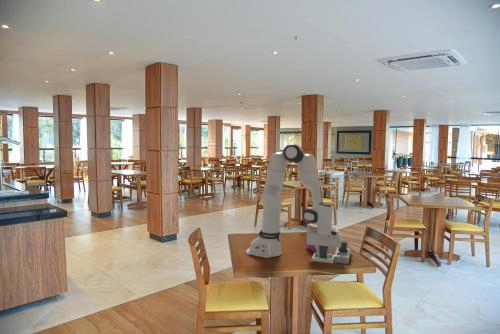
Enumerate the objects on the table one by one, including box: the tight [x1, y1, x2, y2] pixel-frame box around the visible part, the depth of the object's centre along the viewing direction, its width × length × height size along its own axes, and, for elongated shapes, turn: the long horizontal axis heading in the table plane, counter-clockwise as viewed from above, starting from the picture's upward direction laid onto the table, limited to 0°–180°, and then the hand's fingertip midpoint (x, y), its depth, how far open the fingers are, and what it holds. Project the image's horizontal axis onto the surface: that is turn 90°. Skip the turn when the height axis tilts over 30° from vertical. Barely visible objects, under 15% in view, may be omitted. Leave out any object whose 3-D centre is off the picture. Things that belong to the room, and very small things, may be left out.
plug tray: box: [311, 252, 335, 264], centre depth 204 cm, size 12×10×2 cm
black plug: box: [319, 246, 329, 259], centre depth 204 cm, size 5×5×8 cm
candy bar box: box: [305, 223, 319, 253], centre depth 222 cm, size 11×5×16 cm, turn 31°
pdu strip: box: [333, 247, 351, 265], centre depth 207 cm, size 8×20×5 cm, turn 161°
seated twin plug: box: [339, 239, 349, 252], centre depth 211 cm, size 5×5×8 cm
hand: (323, 253), depth 204 cm, fingers open, 5 cm apart
